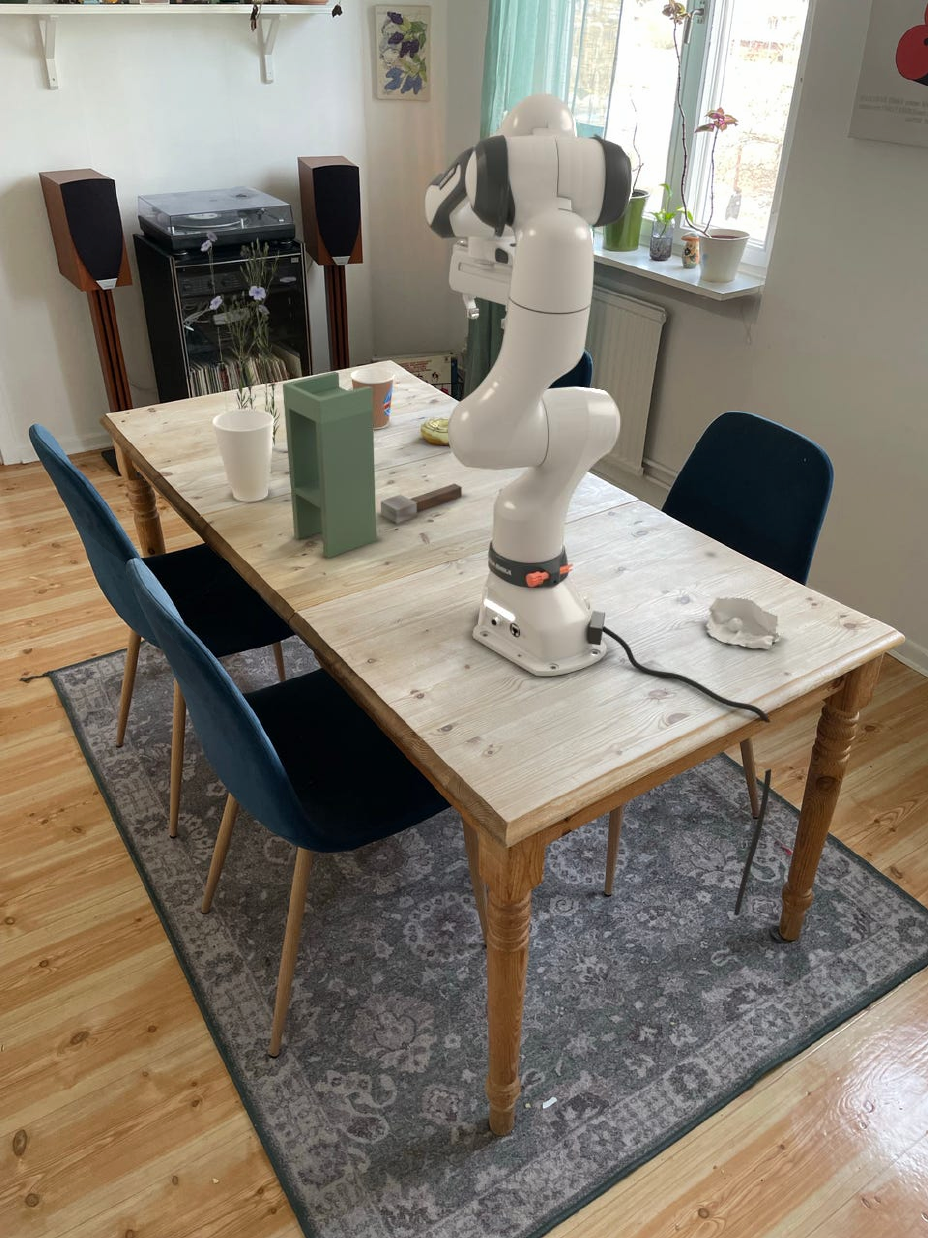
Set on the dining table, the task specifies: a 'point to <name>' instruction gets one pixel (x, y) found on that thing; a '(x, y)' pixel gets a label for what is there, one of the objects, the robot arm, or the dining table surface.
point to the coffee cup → (376, 392)
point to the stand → (331, 462)
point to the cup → (246, 451)
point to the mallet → (417, 503)
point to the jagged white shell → (742, 623)
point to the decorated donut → (436, 430)
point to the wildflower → (258, 294)
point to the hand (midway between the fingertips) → (489, 323)
